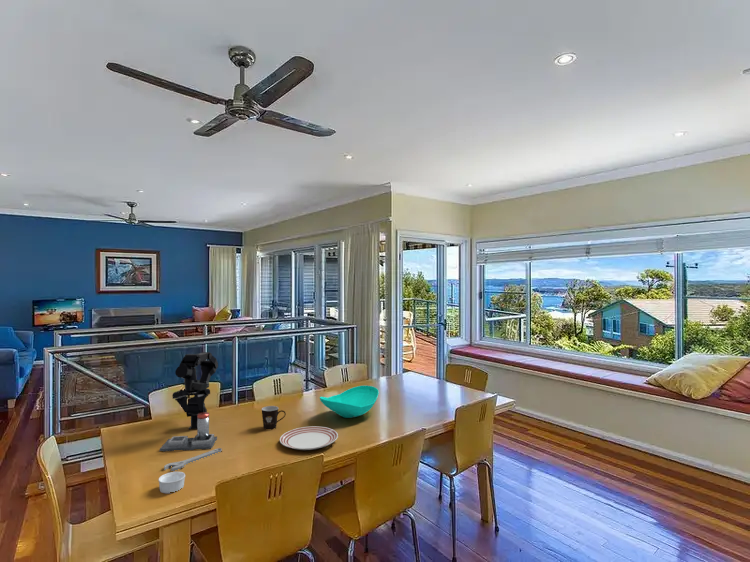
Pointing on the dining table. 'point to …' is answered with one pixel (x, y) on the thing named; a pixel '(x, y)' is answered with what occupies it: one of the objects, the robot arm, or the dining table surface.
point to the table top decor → (352, 401)
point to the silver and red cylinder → (203, 426)
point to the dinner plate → (308, 438)
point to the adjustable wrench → (190, 460)
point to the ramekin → (171, 482)
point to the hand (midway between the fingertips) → (193, 411)
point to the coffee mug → (270, 416)
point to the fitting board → (188, 443)
